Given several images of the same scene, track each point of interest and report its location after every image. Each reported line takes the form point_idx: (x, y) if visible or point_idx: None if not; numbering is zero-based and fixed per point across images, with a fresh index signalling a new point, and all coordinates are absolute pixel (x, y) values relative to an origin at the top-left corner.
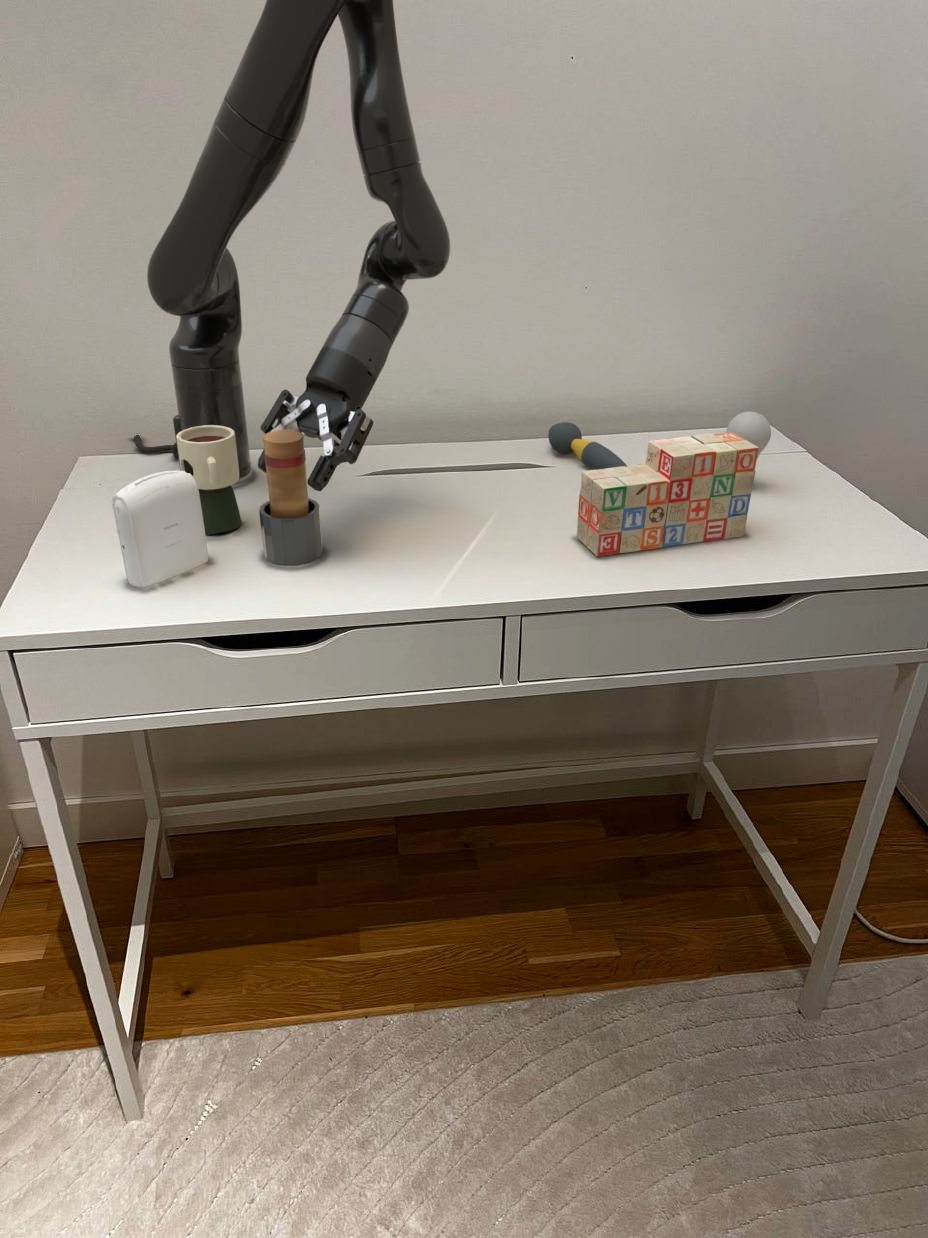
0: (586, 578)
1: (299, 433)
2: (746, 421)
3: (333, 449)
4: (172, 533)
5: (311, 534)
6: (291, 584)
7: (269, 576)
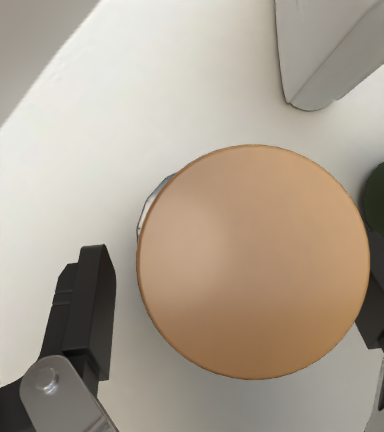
0: None
1: (221, 359)
2: None
3: (25, 405)
4: None
5: None
6: (117, 162)
7: (169, 153)
